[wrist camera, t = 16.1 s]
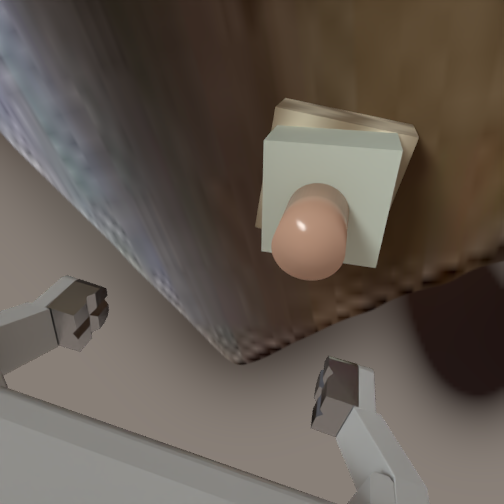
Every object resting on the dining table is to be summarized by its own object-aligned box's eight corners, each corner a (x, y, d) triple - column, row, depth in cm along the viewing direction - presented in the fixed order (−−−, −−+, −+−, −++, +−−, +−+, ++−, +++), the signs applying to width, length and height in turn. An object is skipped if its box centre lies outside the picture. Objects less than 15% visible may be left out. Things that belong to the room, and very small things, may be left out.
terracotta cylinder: (281, 230, 31) (265, 269, 26) (294, 176, 28) (278, 208, 23) (339, 245, 30) (333, 288, 25) (357, 191, 27) (355, 228, 22)
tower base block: (266, 206, 41) (254, 226, 37) (286, 97, 35) (275, 106, 30) (369, 233, 40) (370, 257, 36) (412, 123, 33) (419, 137, 29)
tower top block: (273, 226, 37) (261, 251, 33) (277, 125, 31) (263, 140, 27) (374, 239, 34) (375, 268, 30) (397, 133, 29) (402, 150, 25)
